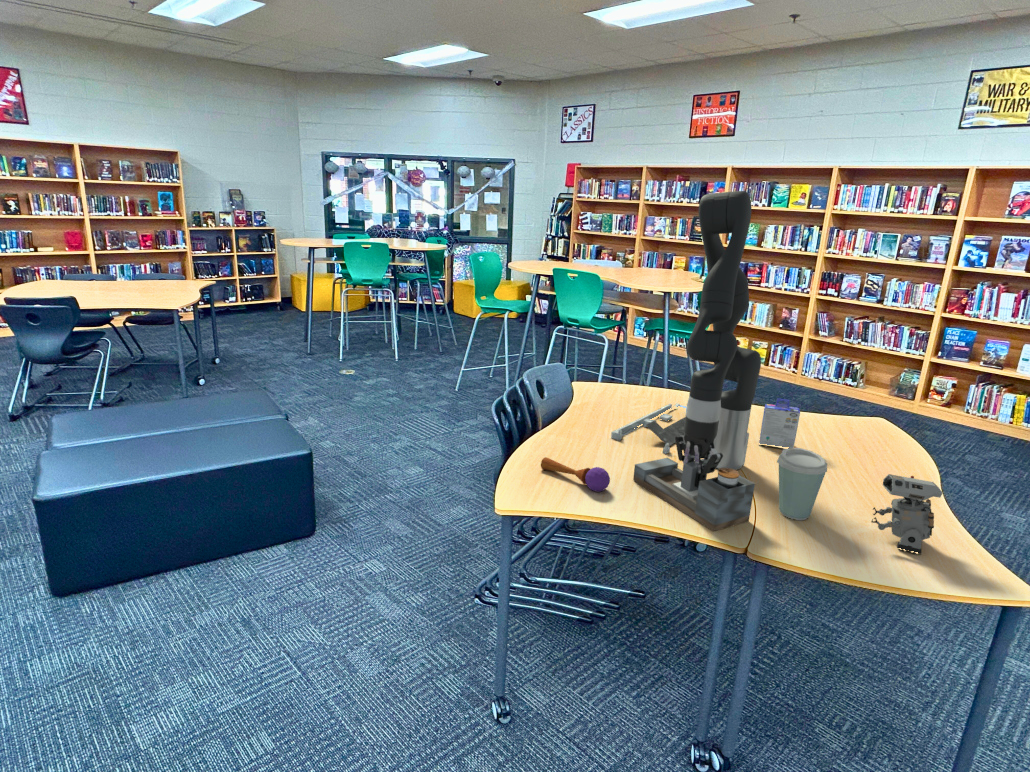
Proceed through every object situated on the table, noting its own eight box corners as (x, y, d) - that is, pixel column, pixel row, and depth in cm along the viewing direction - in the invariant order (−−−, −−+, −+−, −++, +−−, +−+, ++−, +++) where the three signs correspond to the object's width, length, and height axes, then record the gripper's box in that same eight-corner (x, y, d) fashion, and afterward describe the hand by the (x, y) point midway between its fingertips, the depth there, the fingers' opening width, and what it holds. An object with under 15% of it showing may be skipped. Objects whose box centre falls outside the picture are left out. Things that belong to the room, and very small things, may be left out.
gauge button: (726, 480, 141) (728, 466, 140) (741, 488, 137) (743, 474, 136) (712, 484, 139) (714, 469, 138) (727, 492, 135) (729, 477, 134)
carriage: (691, 486, 153) (695, 456, 150) (712, 498, 147) (716, 467, 144) (671, 491, 150) (675, 461, 147) (692, 503, 144) (696, 472, 141)
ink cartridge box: (792, 445, 188) (801, 400, 183) (794, 451, 183) (802, 405, 178) (758, 439, 191) (765, 395, 187) (758, 446, 186) (766, 400, 182)
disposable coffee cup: (828, 522, 141) (840, 463, 137) (789, 528, 138) (801, 467, 134) (795, 501, 151) (806, 445, 147) (758, 506, 148) (768, 448, 144)
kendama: (553, 451, 165) (615, 469, 152) (550, 473, 166) (612, 492, 153) (538, 453, 161) (602, 471, 148) (536, 475, 162) (599, 495, 148)
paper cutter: (610, 439, 187) (612, 422, 186) (676, 406, 221) (677, 391, 219) (665, 455, 176) (667, 438, 175) (725, 418, 210) (727, 403, 208)
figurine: (866, 525, 141) (880, 465, 137) (925, 539, 136) (941, 477, 132) (866, 542, 133) (881, 479, 129) (928, 558, 128) (946, 493, 124)
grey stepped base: (665, 473, 164) (669, 440, 161) (748, 521, 140) (755, 483, 138) (633, 480, 159) (636, 446, 156) (713, 531, 135) (719, 492, 133)
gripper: (737, 423, 138) (726, 492, 143) (693, 404, 150) (684, 469, 155) (712, 427, 135) (702, 498, 140) (669, 408, 146) (661, 474, 152)
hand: (693, 482), depth 147 cm, fingers closed on carriage, 3 cm apart
